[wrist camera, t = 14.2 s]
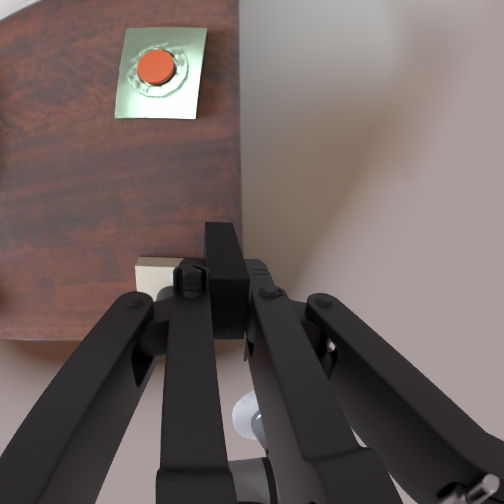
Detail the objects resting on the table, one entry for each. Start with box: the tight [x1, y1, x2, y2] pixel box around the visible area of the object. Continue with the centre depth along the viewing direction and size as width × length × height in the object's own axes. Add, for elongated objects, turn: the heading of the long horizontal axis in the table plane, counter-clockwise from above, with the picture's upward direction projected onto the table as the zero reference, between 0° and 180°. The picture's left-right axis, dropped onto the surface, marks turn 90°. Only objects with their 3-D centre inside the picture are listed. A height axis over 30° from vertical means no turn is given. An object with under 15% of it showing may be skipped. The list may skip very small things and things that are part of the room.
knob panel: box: [135, 256, 184, 302], centre depth 42 cm, size 10×10×3 cm
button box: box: [115, 27, 208, 120], centre depth 29 cm, size 12×10×4 cm
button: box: [137, 50, 175, 85], centre depth 27 cm, size 4×4×2 cm
